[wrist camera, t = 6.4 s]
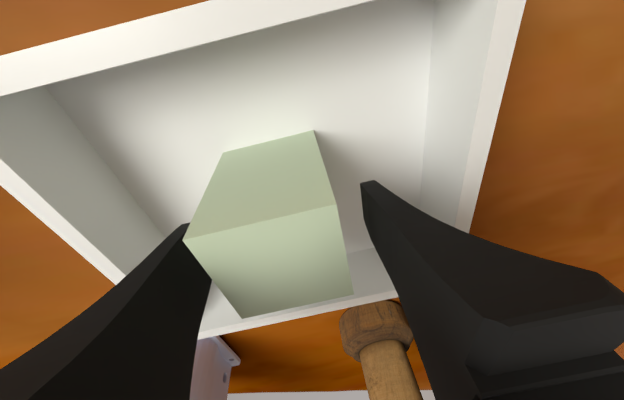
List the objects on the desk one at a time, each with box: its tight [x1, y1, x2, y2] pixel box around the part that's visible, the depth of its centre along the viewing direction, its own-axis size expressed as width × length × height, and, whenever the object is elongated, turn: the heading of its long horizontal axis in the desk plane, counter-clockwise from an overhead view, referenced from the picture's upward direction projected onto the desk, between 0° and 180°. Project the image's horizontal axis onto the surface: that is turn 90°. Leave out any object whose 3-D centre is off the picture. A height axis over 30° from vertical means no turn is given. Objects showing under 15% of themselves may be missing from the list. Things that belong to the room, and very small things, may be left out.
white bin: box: [0, 0, 526, 340], centre depth 12 cm, size 15×17×4 cm
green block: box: [182, 130, 354, 319], centre depth 11 cm, size 4×4×6 cm
